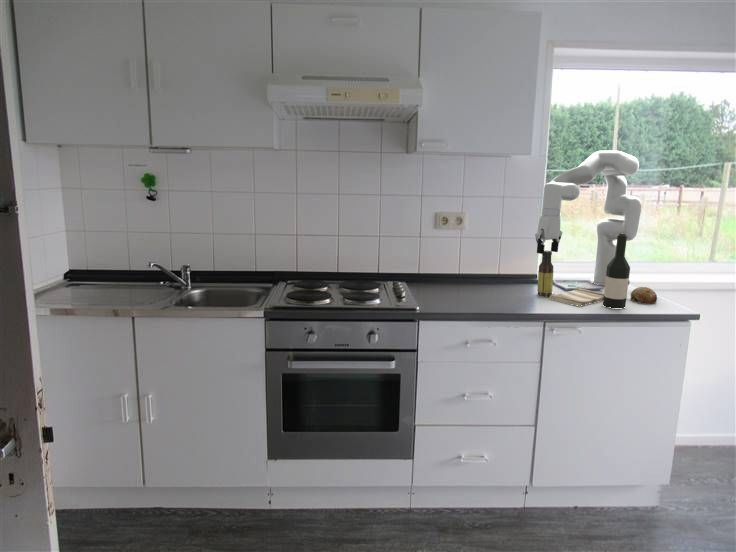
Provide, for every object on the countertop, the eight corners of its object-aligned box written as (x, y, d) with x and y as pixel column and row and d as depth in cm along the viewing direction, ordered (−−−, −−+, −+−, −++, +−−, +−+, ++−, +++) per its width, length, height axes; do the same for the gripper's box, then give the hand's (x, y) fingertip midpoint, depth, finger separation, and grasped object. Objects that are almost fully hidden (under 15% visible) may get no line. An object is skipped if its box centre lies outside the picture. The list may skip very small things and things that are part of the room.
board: (579, 292, 229) (580, 287, 229) (609, 298, 218) (609, 294, 218) (549, 299, 217) (550, 294, 217) (579, 306, 206) (579, 302, 206)
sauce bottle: (553, 295, 223) (557, 250, 219) (549, 298, 218) (553, 252, 214) (539, 293, 227) (542, 249, 223) (534, 296, 222) (538, 251, 218)
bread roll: (626, 307, 219) (623, 291, 217) (643, 295, 222) (639, 279, 219) (647, 313, 211) (643, 297, 208) (664, 300, 213) (660, 284, 210)
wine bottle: (630, 308, 204) (639, 234, 197) (612, 310, 202) (621, 235, 195) (614, 303, 212) (623, 231, 205) (598, 304, 210) (606, 232, 203)
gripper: (555, 211, 223) (552, 249, 226) (530, 212, 213) (527, 252, 216) (571, 212, 217) (566, 252, 220) (546, 214, 207) (542, 255, 210)
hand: (547, 252), depth 218 cm, fingers open, 9 cm apart
